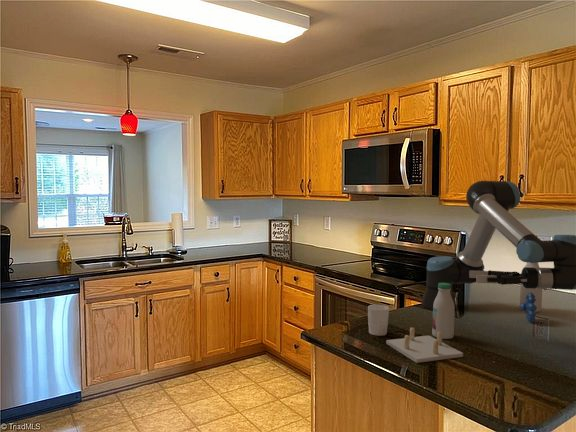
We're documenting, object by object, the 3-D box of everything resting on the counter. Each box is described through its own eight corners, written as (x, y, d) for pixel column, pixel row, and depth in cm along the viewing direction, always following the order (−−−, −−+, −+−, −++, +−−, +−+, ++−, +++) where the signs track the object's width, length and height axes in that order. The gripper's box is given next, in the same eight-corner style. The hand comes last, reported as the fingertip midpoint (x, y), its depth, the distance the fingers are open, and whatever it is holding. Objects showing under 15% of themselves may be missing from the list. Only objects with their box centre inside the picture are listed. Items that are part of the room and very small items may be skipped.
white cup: (389, 331, 167) (390, 305, 166) (387, 337, 160) (387, 311, 159) (368, 328, 170) (369, 303, 169) (365, 334, 162) (366, 308, 162)
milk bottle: (457, 336, 162) (459, 283, 161) (448, 341, 157) (450, 286, 156) (437, 331, 168) (439, 280, 166) (428, 336, 162) (430, 283, 161)
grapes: (517, 316, 190) (518, 289, 189) (534, 318, 187) (536, 291, 186) (519, 323, 179) (520, 295, 178) (538, 325, 176) (539, 296, 176)
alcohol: (544, 310, 200) (547, 246, 198) (536, 313, 194) (539, 247, 193) (524, 306, 207) (527, 244, 205) (516, 309, 201) (519, 245, 200)
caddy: (386, 343, 153) (386, 328, 153) (428, 338, 159) (429, 324, 159) (416, 362, 136) (417, 345, 136) (462, 356, 142) (463, 340, 142)
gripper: (548, 294, 143) (480, 292, 148) (525, 283, 167) (467, 281, 172) (548, 271, 143) (479, 270, 148) (525, 264, 167) (467, 263, 172)
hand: (472, 276), depth 160 cm, fingers open, 13 cm apart
